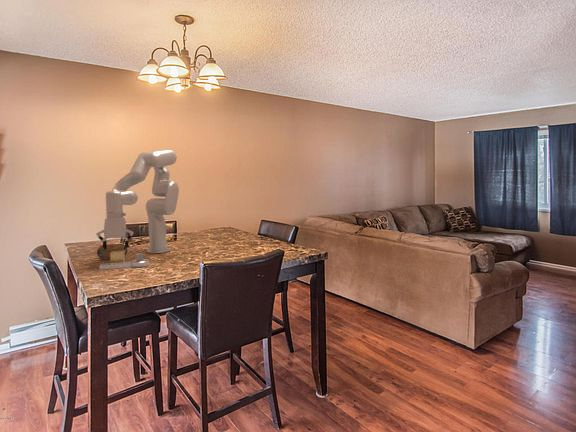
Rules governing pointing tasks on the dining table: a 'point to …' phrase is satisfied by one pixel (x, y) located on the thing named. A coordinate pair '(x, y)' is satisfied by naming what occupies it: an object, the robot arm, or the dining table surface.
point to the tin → (110, 250)
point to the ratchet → (127, 263)
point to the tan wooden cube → (117, 256)
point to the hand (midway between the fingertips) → (115, 248)
